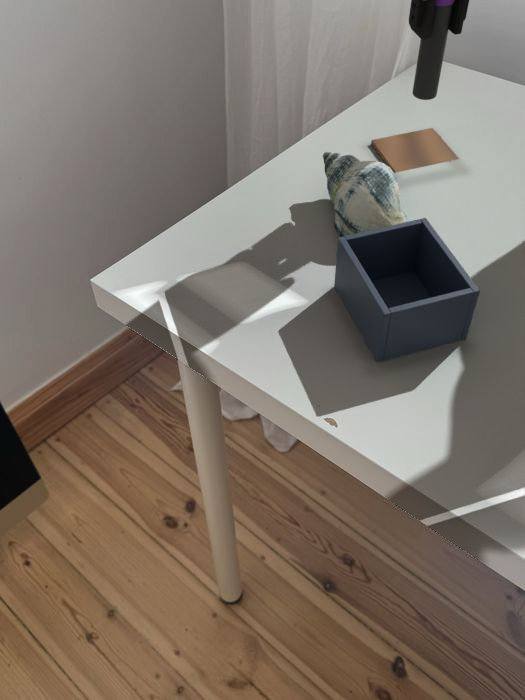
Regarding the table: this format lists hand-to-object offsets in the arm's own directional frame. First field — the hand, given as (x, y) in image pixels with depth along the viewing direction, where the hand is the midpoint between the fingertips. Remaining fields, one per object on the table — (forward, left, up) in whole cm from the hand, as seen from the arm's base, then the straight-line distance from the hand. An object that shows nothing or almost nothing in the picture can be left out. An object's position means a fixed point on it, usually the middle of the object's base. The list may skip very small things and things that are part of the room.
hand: (435, 29), depth 74 cm
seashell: (+10, +9, -15) cm, 20 cm away
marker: (0, 0, -7) cm, 7 cm away
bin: (+13, +23, -15) cm, 30 cm away
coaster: (0, 0, -15) cm, 15 cm away
